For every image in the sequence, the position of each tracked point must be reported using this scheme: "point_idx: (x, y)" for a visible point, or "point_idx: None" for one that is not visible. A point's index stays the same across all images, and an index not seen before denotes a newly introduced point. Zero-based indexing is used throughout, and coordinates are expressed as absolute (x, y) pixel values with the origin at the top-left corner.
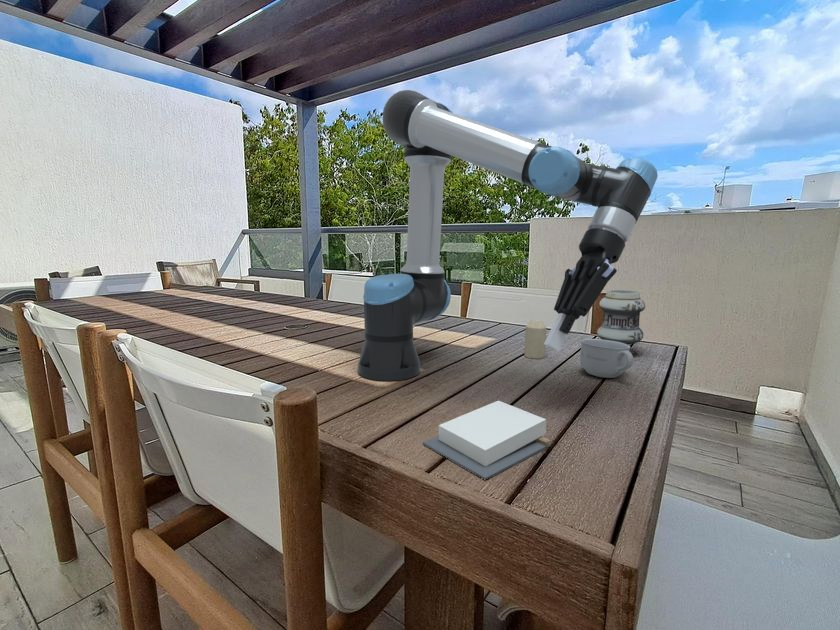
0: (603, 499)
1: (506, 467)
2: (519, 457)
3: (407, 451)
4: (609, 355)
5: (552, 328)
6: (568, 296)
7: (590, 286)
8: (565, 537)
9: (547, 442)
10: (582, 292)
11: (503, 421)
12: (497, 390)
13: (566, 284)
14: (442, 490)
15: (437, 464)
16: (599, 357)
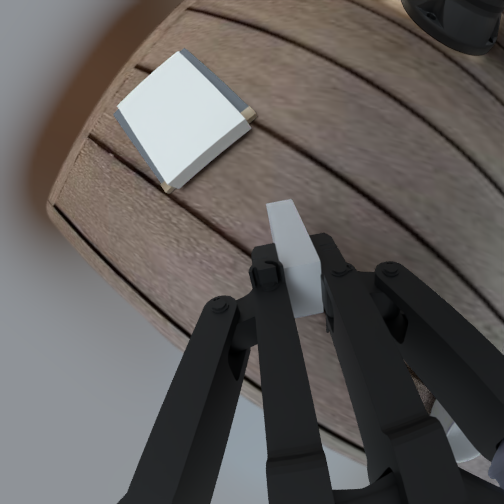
0: (85, 218)
1: (126, 133)
2: (141, 148)
3: (173, 40)
4: (444, 420)
5: (295, 225)
6: (346, 336)
7: (157, 418)
8: (59, 174)
9: (162, 187)
10: (209, 380)
11: (170, 122)
12: (397, 158)
13: (478, 381)
14: (110, 84)
15: (145, 70)
16: None
